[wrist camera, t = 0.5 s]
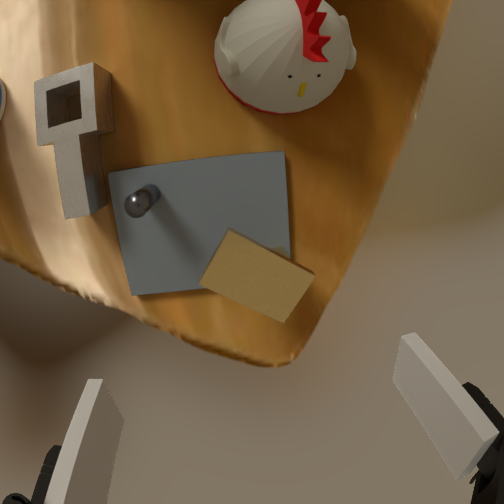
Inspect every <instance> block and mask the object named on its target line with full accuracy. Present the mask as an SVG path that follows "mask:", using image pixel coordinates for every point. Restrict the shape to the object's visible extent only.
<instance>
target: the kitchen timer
mask: <svg viewBox="0 0 504 504" xmlns="http://www.w3.org/2000/svg"><path fill="white" fill-rule="evenodd" d="M356 56H357V54H356V49H355V48H354V46H353V43H352V39H351V34H350V29H349V24H348V21H347V18H346V17H345V16H344V15H342V16H339V15H338V14H337V12H336V11H335V10H334V9H333V8H332V7H331V6H330V5H329V4H328V3H326V2H325V1H324V0H246V1H244V2H243V3H241V4H240V5H238V6H237V7H236V8H235V9H234V10H233V11H232V12H231V13H230V14H229V15H228V17H224V19H223V21H222V23H221V26H220V29H219V32H218V34H217V37H216V39H215V49H214V63H215V66H216V69H217V73H218V76H219V78H220V80H221V81H222V83H223V84H224V86H225V87H226V89H227V90H228V92H229V93H230V94H232V95H233V96H234V97H235V98H236V99H238V100H239V101H240V102H241V103H242V104H244V105H247V106H249V107H251V108H253V109H255V110H257V111H260V112H266V113H271V114H276V115H279V114H292V113H297V112H300V111H303V110H305V109H308V108H311V107H314V106H316V105H317V104H319V103H320V102H321V101H323V100H324V99H325V98H327V97H328V96H329V95H331V93H332V92H333V91H334V89H335V88H336V87H337V85H338V84H339V82H340V81H341V79H342V77H343V75H344V72H345V69H348V70H352V69H353V67H354V65H355V62H356Z"/></svg>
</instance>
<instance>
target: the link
mask: <svg viewBox="0 0 504 504" xmlns="http://www.w3.org/2000/svg"><path fill="white" fill-rule="evenodd" d="M34 93H35V117H36V131H37V142H38V146H46V145H54V152H55V160H56V168H57V175H58V181H59V188H60V194H61V200H62V205H63V210H64V215H65V219H70V218H76V217H81V216H87V215H91V214H93V213H94V212H96V211H97V210H99V209H101V208H102V207H104V206H105V205H107V204H108V202H107V196H106V190H105V183H104V177H103V169H102V162H101V154H100V145H99V136H98V135H100V134H105V133H109V132H114V131H115V130H114V119H113V106H112V91H111V73H110V72H109V71H107V70H105V69H104V68H102V67H101V66H99V65H97V64H96V63H94V62H92V63H88V64H85V65H82V66H78V67H75V68H72V69H69V70H66V71H63V72H60V73H57V74H54V75H52V76H49V77H46V78H43V79H41V80H38V81H36V82H34ZM78 93H80V95H81V112H82V118H81V119H78V120H74V121H71V122H70V114H69V97H68V96H72V95H75V94H78Z"/></svg>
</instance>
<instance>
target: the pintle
mask: <svg viewBox="0 0 504 504" xmlns="http://www.w3.org/2000/svg"><path fill="white" fill-rule="evenodd" d="M159 198H160V190H159V188H158V187H157V186H156V185H153V184H147V185H145V186H144V187H142V188H140V189H139V190H137V191H135V192H134V193H132V194H131V195H129V196H128V197H127V198H126V200H125V202H124V209H125V211H126V213H127V214H128V215H129V216H130V217H132V218H140V217H142V216H144V215H145V214H146V213H147V212H148V211H149V209H150V208H151V207H152V206H153V205H154V204H155V203H156V202H157V201H158V200H159Z"/></svg>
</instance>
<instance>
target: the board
mask: <svg viewBox="0 0 504 504" xmlns="http://www.w3.org/2000/svg"><path fill="white" fill-rule="evenodd" d="M108 180H109V186H110V193H111V199H112V205H113V211H114V216H115V222H116V227H117V232H118V237H119V242H120V247H121V252H122V256H123V261H124V265H125V270H126V274H127V278H128V282H129V286H130V290H131V294H132V296H133V295H144V294H154V293H164V292H174V291H184V290H193V289H203V288H205V287H203V286H201V285H199V278H200V276H201V275H202V273H203V271H204V269H205V267H206V266H207V264H208V262H209V260H210V258H211V257H212V255H213V253H214V251H215V249H216V248H217V246H218V244H219V242H220V241H221V239H222V237H223V235H224V234H225V232H226V230H227V228H228V227H231V228H233V229H235V230H236V231H238V232H240V233H242V234H244V235H246V236H248V237H250V238H252V239H253V240H255V241H257V242H259V243H261V244H263V245H265V246H267V247H269V248H273V247H283V248H284V250H285V251H286V253H287V255H288V256H289V258H290V239H289V219H288V201H287V184H286V169H285V155H284V151H274V152H260V153H248V154H237V155H227V156H217V157H208V158H200V159H192V160H184V161H177V162H170V163H163V164H157V165H150V166H144V167H138V168H132V169H126V170H121V171H115V172H110V173H108ZM147 184H153V185H156V186H157V187H158V188H159V190H160V198H159V200H158V201H157V202H156V203H155V204H154V205H153V206H152V207H151V208H150V209H149V211H148V212H147V213H146V214H145V215H144V216H142V217H140V218H132V217H130V216H129V215H128V214H127V213H126V211H125V209H124V202H125V200H126V198H127V197H128V196H129V195H131V194H132V193H134V192H135V191H137V190H139V189H140V188H142V187H144V186H145V185H147Z"/></svg>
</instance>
